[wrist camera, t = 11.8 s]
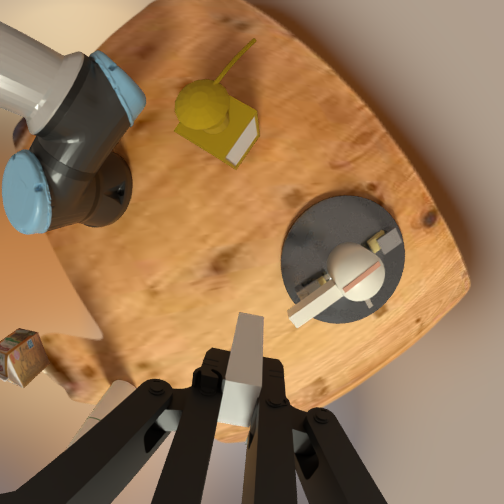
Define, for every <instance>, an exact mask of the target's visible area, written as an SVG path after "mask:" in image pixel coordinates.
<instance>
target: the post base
mask: <svg viewBox="0 0 504 504" xmlns="http://www.w3.org/2000/svg"><path fill="white" fill-rule="evenodd" d="M380 230H383V231H384V233H385V234H383V235H382V236H380V237H379V238H378V239H376V242H377V244H378V246H379V248H380V250H379V251H377V252H376V253H374V254H375V255H377V256H378V257H379V258H380V259H381V261H382V263H383V265H384V269H385V278H384V282H383V284H382V286H381V288H380V290H379V291H378V292H377V293H376V294H375V295H374V296H372V297H371V298H369V299H367V300H364V301H352V300H349V299H347V298H346V297H345V296H344V295H343V294H342V295H343V297H341V298H340V299H338V300H337V301H336V302H334V303H333V304H332V305H330V306H329V307H327V308H326V309H325V310H323V311H322V312H320V313H319V314H317V315H316V316H315V317H313V318H314V319H317V320H320V321H323V322H327V323H336V324H339V323H349V322H354V321H357V320H360V319H363V318H365V317H367V316H369V315H370V314H372V313H374V312H375V311H377V310H378V309H379V308H380V307H381V306H383V305H384V304H385V303H386V302H387V300H388V299H389V298H390V297H391V295H392V294H393V292H394V291H395V289H396V287H397V285H398V283H399V281H400V278H401V276H402V272H403V268H404V261H405V249H404V242H403V238H402V235H401V232H400V229H399V227H398V225H397V224H396V222H395V220H394V219H393V218H392V216H391V215H390V214H389V213H388V212H387V211H386V210H385V209H384V208H382V207H381V206H380V205H378V204H377V203H375V202H373V201H371V200H368V199H366V198H362V197H357V196H346V195H344V196H335V197H331V198H327V199H325V200H322V201H320V202H318V203H316V204H314V205H313V206H311V207H310V208H309V209H307V210H306V211H305V212H304V213H303V214H302V215H301V216H300V217H299V218H298V219H297V220H296V221H295V223H294V224H293V225H292V227H291V229H290V230H289V232H288V234H287V237H286V239H285V242H284V245H283V249H282V255H281V271H282V277H283V281H284V285H285V287H286V290H287V292H288V294H289V296H290V297H291V299H292V300H293V302H294V303H295V304H297V303H298V302H300V301H301V300H303V299H304V298H305V297H307V296H308V295H310V294H311V293H312V292H314V291H315V290H317V289H318V288H319V287H321V285H320V284H319V282H318V280H317V279H318V278H320V277H321V276H323V278H324V279H325V280H326V282H327V281H329V280H330V279H331V278H330V276H329V274H328V271H327V259H328V256H329V254H330V253H331V251H332V250H333V249H334V248H335V247H336V246H337V245H339V244H341V243H344V242H355V243H358V244H359V245H361V246H363V247H364V248H366V249H367V250H369V251H371V252H372V250H371V248H370V247H369V245H368V244H367V241H368V240H369V239H370V238H372V237H373V236H374V235H375V234H377V233H378V232H379V231H380ZM372 253H373V252H372Z"/></svg>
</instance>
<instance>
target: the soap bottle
mask: <svg viewBox="0 0 504 504" xmlns="http://www.w3.org/2000/svg"><path fill="white" fill-rule="evenodd" d="M255 42H256V39H255V38H253V39H252V40H251V41H250V42H249V43H248V44H247V45H246V46H245V47H244V48H243V49H242V50H241V51H240V52H239V53H238V54H237V55H236V56H235V57H234V58H233V59H232V60H231V61H230V63H229V64H228V65H227V66H226V67H225V68H224V70H223V71H222V72H221V73H220V75H219V76H218V77H217V78H216V80H215V81H213V80H209V79H203V80H196V81H194V82H192V83H190V84H188V85H186V86H185V87H184V88H183V89H182V90H181V91H180V92H179V95H178V97H177V99H176V101H175V113H176V115H177V118H178V120H179V121H180V122H179V124H178V125H177V127H176V128H175V130H174V132H176V133H178V134H179V135H181V136H182V137H184V138H186V139H187V140H189V141H191V142H192V143H194V144H195V145H197V146H199V147H200V148H202V149H203V150H205V151H207V152H208V153H210V154H212V155H213V156H215V157H216V158H218V159H220V160H221V161H223V162H224V163H226V164H228V165H229V166H231V167H232V168H234V169H236V170H237V168H238V167H239V165H240V164H241V163H242V161H243V160H244V158H245V157H246V155H247V154H248V152H249V151H250V149H251V148H252V147H253V145H254V144H255V142H256V141H257V139H258V138H259V137H260V133H259V125H258V116H257V111H256V110H255V109H253V108H251V107H249V106H248V105H246V104H244V103H242V102H241V101H239V100H237V99H235V98H233V97H232V96H230V95H228V93H227V91H226V89H225V87H223V86H222V85H221V84H220V83H219V82H220V81H221V79H222V78H223V77H224V76H225V74H226V73H227V72H228V71H229V69H230V68H231V67H232V66H233V65H234V63H235V62H236V61H237V60H238V59H239V58H240V57H241V56H242V55H243V54H244V53H245V52H246V51H247V50H248V49H249V48H250V47H251V46H252V45H253V44H254V43H255Z"/></svg>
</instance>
